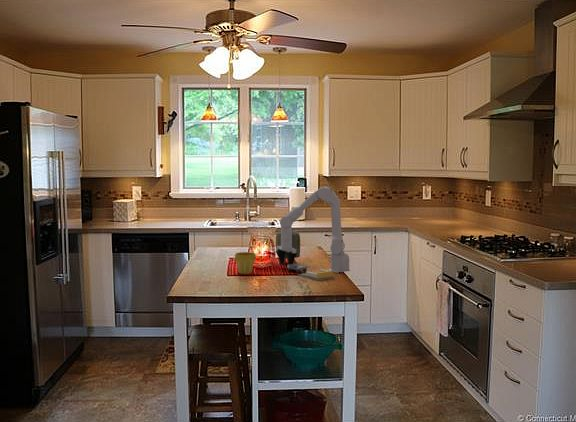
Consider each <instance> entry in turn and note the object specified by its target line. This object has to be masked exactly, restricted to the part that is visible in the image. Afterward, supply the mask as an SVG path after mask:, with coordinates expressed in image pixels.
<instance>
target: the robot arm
mask: <svg viewBox="0 0 576 422" xmlns="http://www.w3.org/2000/svg"><path fill="white" fill-rule="evenodd" d="M320 200H322V201H324V202H326V203H327V204H329V205H330V216H331V233H332V234H331V245H330V247H329V248H330V268H329V269H326V271H333V273H336V274H339V272H340V273H344V272H346V273H347V272H351V269H350V257H349V254H348V253H346V252H345V251H344V250H345V247H346V245H345V242H344V240H343V235H342V234H343V233H342V216H341V200H340V199H339V197H338V196H337V194H336V193H335V191H334V189H332V188H331V187H329V186H322V187H319V188H318V189H317V190H314V192H312V193H311V194H310V195H309V196H308V197H307V198H306V199H305V200H304V201H303V202H302V203H301V204H300V205H299V206H298V205H295V206H292V207H291V209H290V210H289V211H288V212H287V213H285V214H284V215H285V216H283V217H281V218H280V220H279V225H280V231H281V246H277V250H278V251H275V253H276V255H277V259H278V261H279V264H280V265H285V264H284V259H285V253H286V251H287V252H290V253H286V254H287V257H288V258H287V259H288V261H287V262H288V264H294V263H295V262H294V259H296V258H295V257H296V255H297V253H296V249H294V248H292V229H293V228H292V226H293V224H294V223H295V222H297V220H299V218H301V217H302V216H303V215H304V211H305V210H306V209H307V208H308V207H309V206H310V205H311V204H313V203H314V202H315V201H320Z"/></svg>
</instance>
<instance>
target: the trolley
mask: <svg viewBox="0 0 576 422" xmlns="http://www.w3.org/2000/svg"><path fill="white" fill-rule="evenodd" d="M294 263H295V262H294ZM294 263H293V264H287V263H286V264H287V269H288V272H292V270H295V273H296V274H301V273H300V272H301V270H302V272H303V273H306V272H307V271H308V270H307V269H308V265H307V264H306V265H299V264H298V262H297V263H295V264H294Z"/></svg>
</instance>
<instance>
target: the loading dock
mask: <svg viewBox="0 0 576 422" xmlns="http://www.w3.org/2000/svg"><path fill="white" fill-rule="evenodd" d="M297 276H300V277H303V278H307V279H311V280H315V281H322V280H330V279H334V278H335V277H334V272H333V271H327V269H319V271H317V272H316V271H313V272H312V271H308V270H307V271H306V272H303V273H297Z"/></svg>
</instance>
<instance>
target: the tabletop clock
mask: <svg viewBox="0 0 576 422" xmlns="http://www.w3.org/2000/svg"><path fill="white" fill-rule="evenodd" d="M277 246H281V230H280V231H278V232H276V234H275V250H276V251H278V250H277ZM292 248H294V249H296V253H297V255H296V257H295V259H296V258H297V259H298V258H299V257H301V256H300V255H301V235H300V233H299V232H297V231H296V230H293V228H292ZM276 251H275V252H276ZM286 253H290V252H287V251H286ZM286 253H285V259H284V264H283V265H285V264H287V263H286V262H288V257H287V254H286ZM295 259H294V262H293V264H295V263H298V262H297V261H296V260H295Z"/></svg>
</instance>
